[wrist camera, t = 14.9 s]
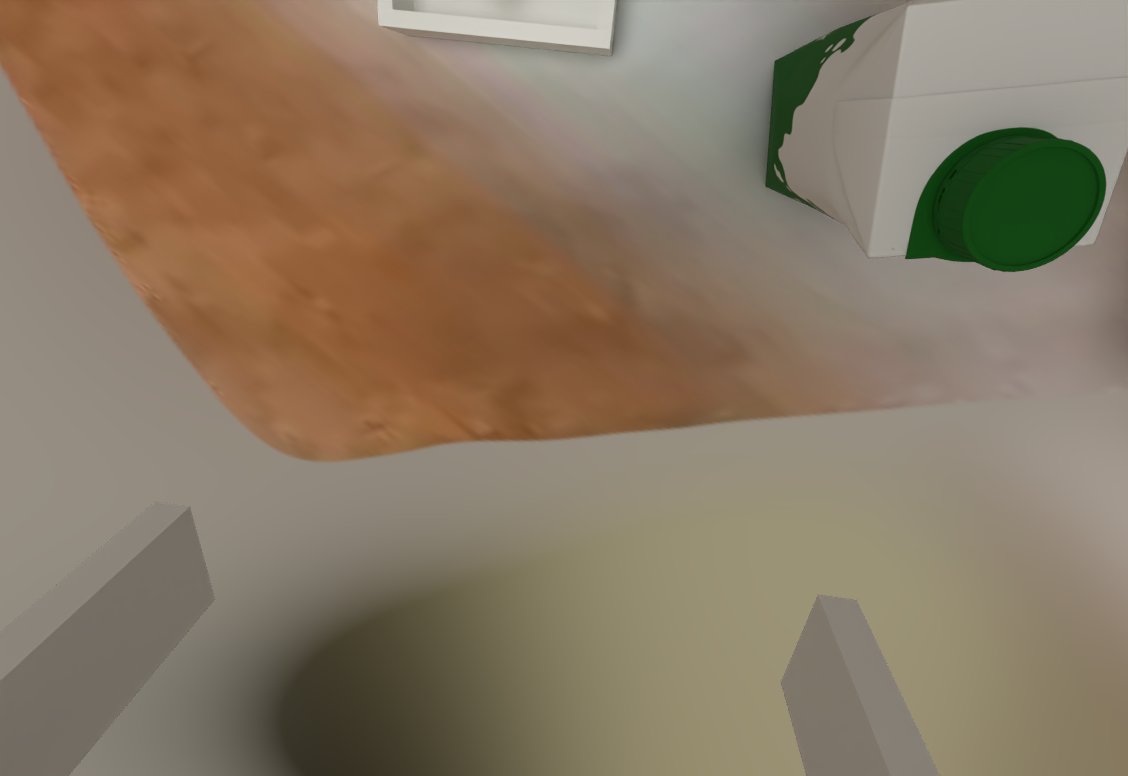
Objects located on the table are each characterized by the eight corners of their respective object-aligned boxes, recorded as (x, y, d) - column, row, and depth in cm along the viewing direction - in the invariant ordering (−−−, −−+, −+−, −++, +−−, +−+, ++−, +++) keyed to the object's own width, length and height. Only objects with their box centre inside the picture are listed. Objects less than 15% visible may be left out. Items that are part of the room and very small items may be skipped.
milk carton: (749, 202, 37) (870, 291, 19) (759, 41, 33) (924, -39, 15) (891, 192, 35) (1161, 276, 18) (919, 24, 31) (1304, -84, 14)
